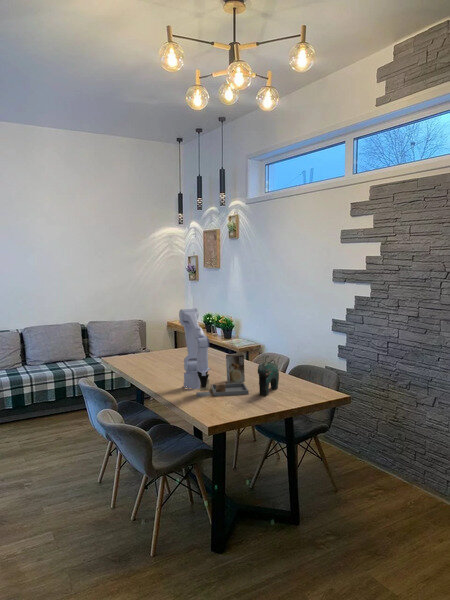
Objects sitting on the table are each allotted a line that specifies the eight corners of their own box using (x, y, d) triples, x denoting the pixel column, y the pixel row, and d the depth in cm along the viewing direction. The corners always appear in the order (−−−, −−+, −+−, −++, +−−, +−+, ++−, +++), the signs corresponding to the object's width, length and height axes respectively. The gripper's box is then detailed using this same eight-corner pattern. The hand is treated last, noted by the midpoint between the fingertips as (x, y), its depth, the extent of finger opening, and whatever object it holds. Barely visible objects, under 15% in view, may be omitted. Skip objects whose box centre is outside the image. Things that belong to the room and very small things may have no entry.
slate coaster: (197, 397, 226) (197, 396, 226) (196, 393, 233) (196, 392, 233) (210, 396, 227) (210, 395, 227) (209, 392, 234) (209, 391, 234)
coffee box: (241, 380, 259) (240, 352, 257) (245, 382, 253) (244, 355, 251) (226, 381, 256) (225, 354, 255) (229, 384, 250) (228, 356, 249)
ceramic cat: (266, 398, 222) (265, 359, 220) (254, 396, 225) (254, 358, 224) (281, 388, 239) (280, 351, 238) (270, 387, 242) (269, 351, 241)
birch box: (200, 390, 228) (200, 379, 227) (199, 388, 232) (199, 377, 232) (209, 390, 228) (209, 378, 228) (208, 388, 233) (208, 376, 232)
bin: (213, 397, 226) (213, 392, 226) (211, 389, 241) (211, 384, 241) (248, 395, 229) (248, 390, 228) (244, 387, 243) (243, 382, 243)
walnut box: (216, 394, 229) (216, 385, 228) (216, 392, 233) (215, 383, 233) (225, 394, 229) (225, 384, 229) (224, 391, 234) (224, 382, 233)
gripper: (211, 362, 222) (212, 389, 223) (209, 357, 237) (209, 382, 238) (197, 363, 221) (198, 390, 222) (195, 357, 236) (196, 382, 237)
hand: (203, 386), depth 230 cm, fingers closed on birch box, 4 cm apart
